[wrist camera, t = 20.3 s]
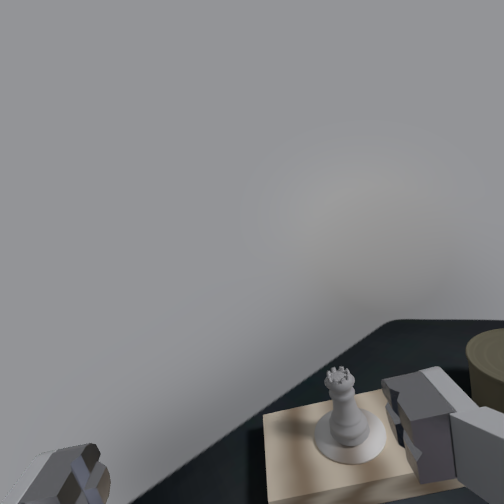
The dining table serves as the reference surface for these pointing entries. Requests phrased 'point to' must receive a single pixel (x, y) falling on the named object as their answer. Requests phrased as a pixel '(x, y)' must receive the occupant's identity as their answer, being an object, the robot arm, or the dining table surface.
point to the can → (487, 369)
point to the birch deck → (338, 459)
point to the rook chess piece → (345, 409)
